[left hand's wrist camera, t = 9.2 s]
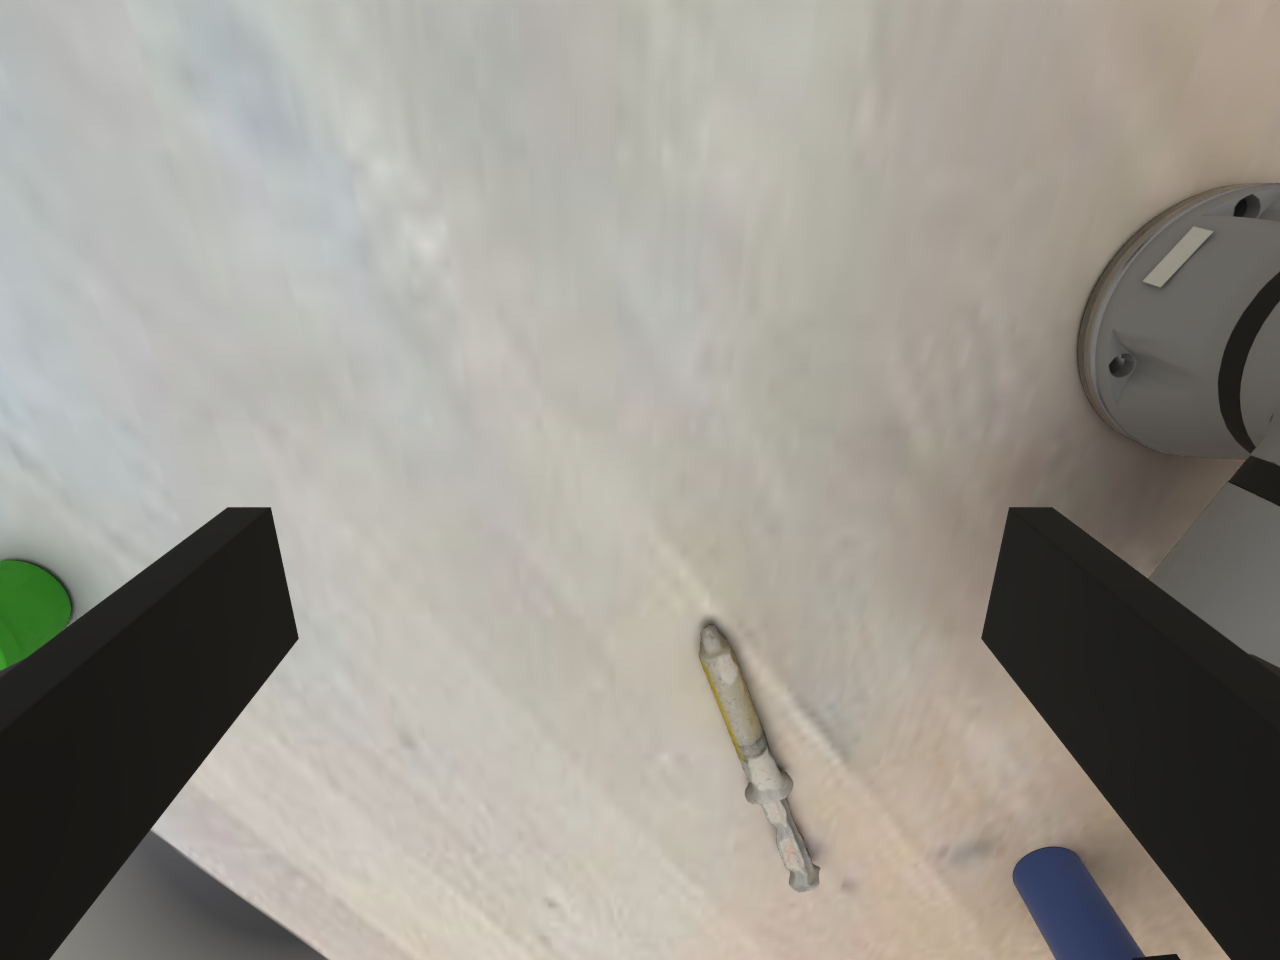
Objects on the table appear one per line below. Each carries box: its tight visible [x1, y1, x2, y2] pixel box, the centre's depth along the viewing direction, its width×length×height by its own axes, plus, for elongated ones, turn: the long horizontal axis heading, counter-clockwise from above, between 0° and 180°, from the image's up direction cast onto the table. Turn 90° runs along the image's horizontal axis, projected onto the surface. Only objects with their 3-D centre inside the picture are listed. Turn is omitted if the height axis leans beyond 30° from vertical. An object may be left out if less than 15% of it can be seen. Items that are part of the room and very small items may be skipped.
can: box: [1013, 847, 1145, 960], centre depth 53 cm, size 6×6×10 cm
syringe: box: [699, 625, 820, 892], centre depth 52 cm, size 25×4×3 cm, turn 18°
